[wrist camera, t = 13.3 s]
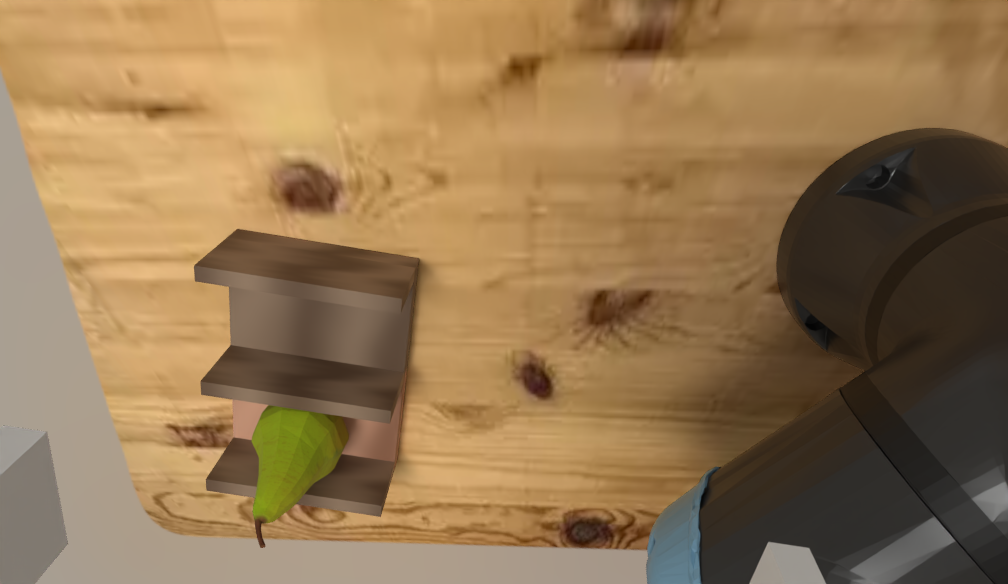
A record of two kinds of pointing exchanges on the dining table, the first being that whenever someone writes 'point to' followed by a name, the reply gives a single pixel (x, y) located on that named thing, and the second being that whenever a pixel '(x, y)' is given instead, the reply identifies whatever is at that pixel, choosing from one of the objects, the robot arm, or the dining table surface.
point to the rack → (314, 356)
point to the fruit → (292, 457)
